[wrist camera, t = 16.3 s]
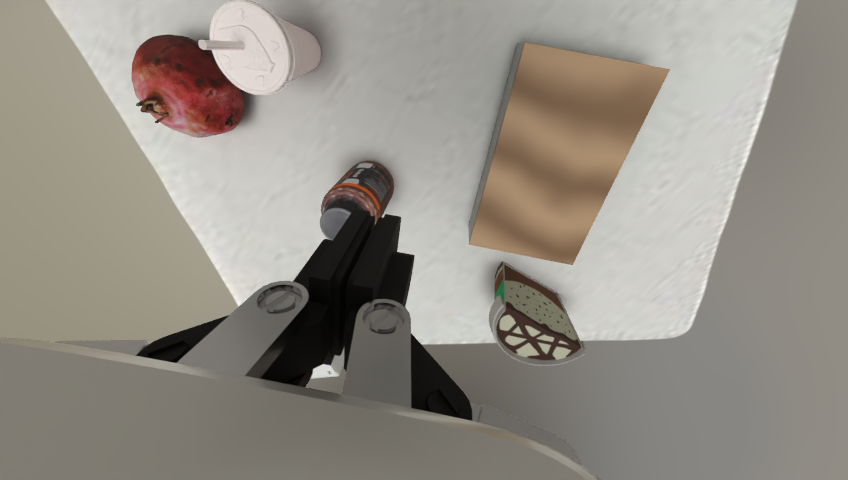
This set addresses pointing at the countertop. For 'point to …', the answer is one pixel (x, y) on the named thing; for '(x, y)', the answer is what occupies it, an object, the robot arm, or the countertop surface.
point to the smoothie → (259, 47)
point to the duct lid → (560, 149)
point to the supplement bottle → (356, 196)
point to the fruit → (185, 87)
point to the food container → (531, 321)
